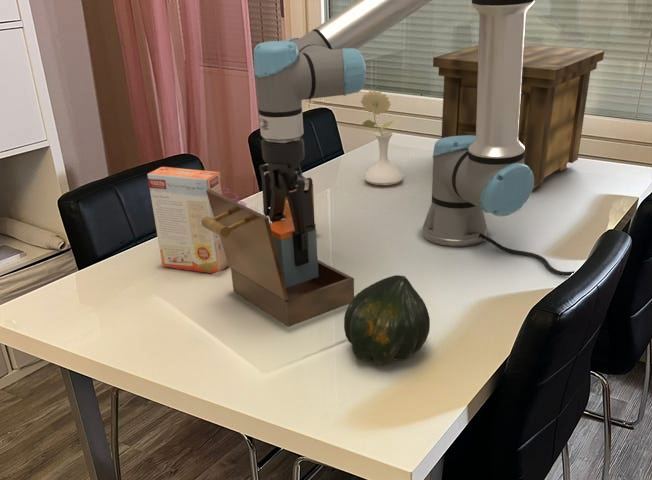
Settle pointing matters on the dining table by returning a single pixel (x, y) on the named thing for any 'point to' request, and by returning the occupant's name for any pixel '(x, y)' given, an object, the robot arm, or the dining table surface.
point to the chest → (300, 295)
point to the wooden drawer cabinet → (527, 101)
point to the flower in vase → (380, 142)
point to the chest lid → (246, 242)
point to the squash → (387, 321)
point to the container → (286, 253)
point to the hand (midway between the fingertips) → (291, 258)
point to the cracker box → (186, 219)
